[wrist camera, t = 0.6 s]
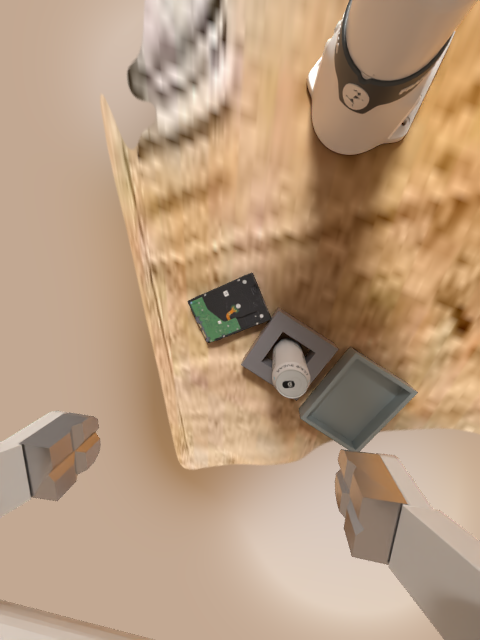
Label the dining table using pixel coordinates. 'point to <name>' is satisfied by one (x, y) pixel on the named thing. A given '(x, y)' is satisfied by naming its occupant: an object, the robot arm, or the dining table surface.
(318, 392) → the parts tray
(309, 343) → the socket block
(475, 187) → the dining table surface
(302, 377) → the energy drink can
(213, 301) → the disk drive
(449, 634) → the robot arm
